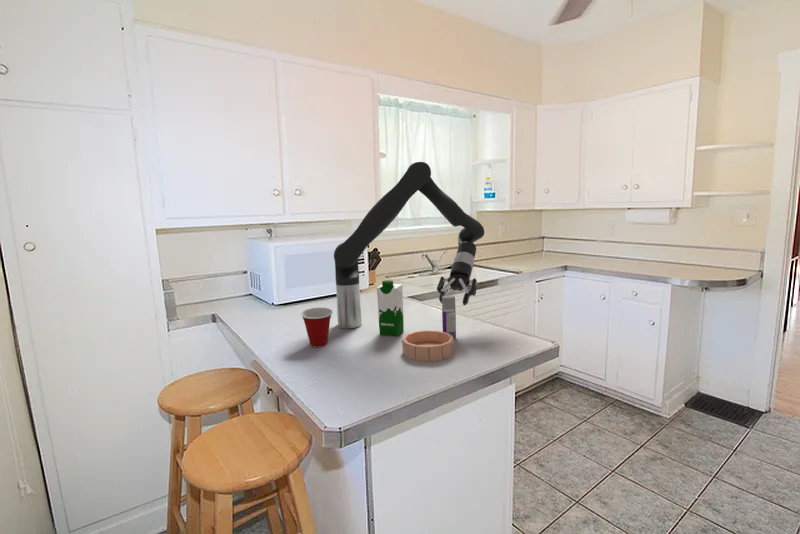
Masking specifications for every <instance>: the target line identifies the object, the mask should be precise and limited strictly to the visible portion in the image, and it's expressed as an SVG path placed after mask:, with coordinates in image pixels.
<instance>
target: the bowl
mask: <svg viewBox="0 0 800 534" xmlns="http://www.w3.org/2000/svg"><path fill="white" fill-rule="evenodd" d="M454 340H455V339H454V337H453V336H451V335H450V334H449V333H446V332H443V330H433V329H432V330H431V329H429V330H428V329H424V330H417V331H412V332H409V333H407V334H405V335H404V336H403V337H402V338H401V345H402V353H403V354H404V356H405V357H406V358H408V359H411V360H414V361H421V362H422V361H423V362H434V361H442V360H445V359H447V358H449V357H451V356H452V355H453V353H454V352H455V351H454V350H455V347H454V346H455V345H454V343H455V342H454Z"/></svg>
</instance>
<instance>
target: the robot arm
mask: <svg viewBox="0 0 800 534" xmlns="http://www.w3.org/2000/svg"><path fill="white" fill-rule="evenodd" d="M431 176H432V169H431V167H430V165H429V164H428V163H427V162H425V161H421V160H417V161H414V162H412V163H411V164H410V165H409V166H408V167H407V170H406V171H405V172H404V174H403V175H402V177H401V178H400V180H399V181H398V182H397V183H396V184H395V185H394V186H393V187H392V188H391V189H390V190H389V191H388V192H386V193H385V194H384V195H383V196H382V197H381V198H380V199H379V200H377V202H376V203H375V204H374V205H373V206H372V207H371V208H370V210H369V211H368V212H367V213H366V215H365V216H364V217H363V219H362V220H361V222H360V223H359V224H358V226H357V227H356V229H355V230H354V232H353V233H352V234H351V235H350V236H349V237H347V239H346V240H345V241H343V242H342V243H340V244H338V245H337V246H336V247H335V249H334V251H333V260H334V268H335V270H334V271H335V272H334V273H335V290H336V313H337V315H336V316H337V326H338V329H354V328H358V327H361V326H362V325H363V324H362V307H361V291H360V290H361V289H360V271H359V258H360V257H361V255H362V254H363V253H364V251H366V249H367V248H368V246H369V245H370V244H371V243H372V242H373V241H374V240H375V239H376V238H378V237H379V236H380V235H381V234H382V233H383V231H385V230H386V229H387V228H388V227H389V226H390V224H391V223H392V222H393V221H394V220H395V219H396V217H398V215H399V214H400V213H401V211H402V210H403V208H404V207H405V206H406V204H407V202H408V201H409V200H410V199H411V198H412V197H413V196H414V195H415V194H416V193H417V192H418V191H419V192H420V193H421V194H422V195H423V196H424V197H426V199H428V200H429V202H431V203H432V204H433V206H434V207H435V208H436V210H438V212H439V213H441V215H442V216H443V217H444V218H445V219H446V220H447V221H448V222H449V224H450V225H451V226H452V227H463V228H461V230H460V231H459V233H458V236H457V237H458V238H457V240H458V242H457V243H458V248H457V251H456V254H455V257H454V259H453V263H452V266H451V269H450V273H449V277H448V278H445V277H444V276H441V277H440V279H439V281H438V285H437V287H436V291H437V292H438V293H439V296H438V297H439V298H438V300H439V302H440V304H442V296H445V295H448V293H450V292H451V291H459V292H461V291H464V294H463V295H464V296H463V298H462V305H463V306H466V305H467V304H468V303H469V300H470V297H472V296H473V297H475V296H476V294H477V288H478V280H477V279H476V278H472V279H471V277H472V273H473V269H474V263H475V258H476V257H475V256H476V254H477V246H476V245H475V242H477V241H478V240H480V239H482V238H483V237H484V235H485V229H484V226H483V224H482V223H481V222H479V221H478V220H477V219H475V218H474V217H472V215H471V216H470V215H469V214H467V213H466V212H465V211H464V210H463V209H462V207H460V206H459V205H458V203H457V202H456V201H454V199H453V198H451V197H450V196H449V195H448V194H446V193H445V192H444V190H442V189H441V188H440V187H439V186H438V185H437V183H435V181H434V180H433V178H432V177H431ZM469 285H471V286H470V287H471V288H470V290H469V289H468V286H469Z"/></svg>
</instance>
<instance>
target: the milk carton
mask: <svg viewBox="0 0 800 534" xmlns="http://www.w3.org/2000/svg"><path fill="white" fill-rule="evenodd" d="M403 287H404V286H403V283H401V284H400V283H394V280H390V279H388V280H382V281H381V284H380V285H379V286H377V287H376V295H377V296H376V297H377V310H378V311H377V313H378V314H377V315H378V316H377V317H378V329H379V335H380V336H390V337H398V336H400V335H401V333H403V331H404V329H405V328H404V322H405V321H404V298H403Z"/></svg>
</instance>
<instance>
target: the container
mask: <svg viewBox="0 0 800 534" xmlns="http://www.w3.org/2000/svg"><path fill="white" fill-rule="evenodd" d="M441 307H442V308H441V309H442V310H441V313H442V314H441V315H442V316H441V317H442V319H441V320H442V332H446V333H449V334H450V335H451V336H453V337H454V340H456V339H457V316H456V315H457V314H456V313H457V311H456V309H457V308H456V296H455V295H450V294H445V296H442V303H441Z"/></svg>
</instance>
